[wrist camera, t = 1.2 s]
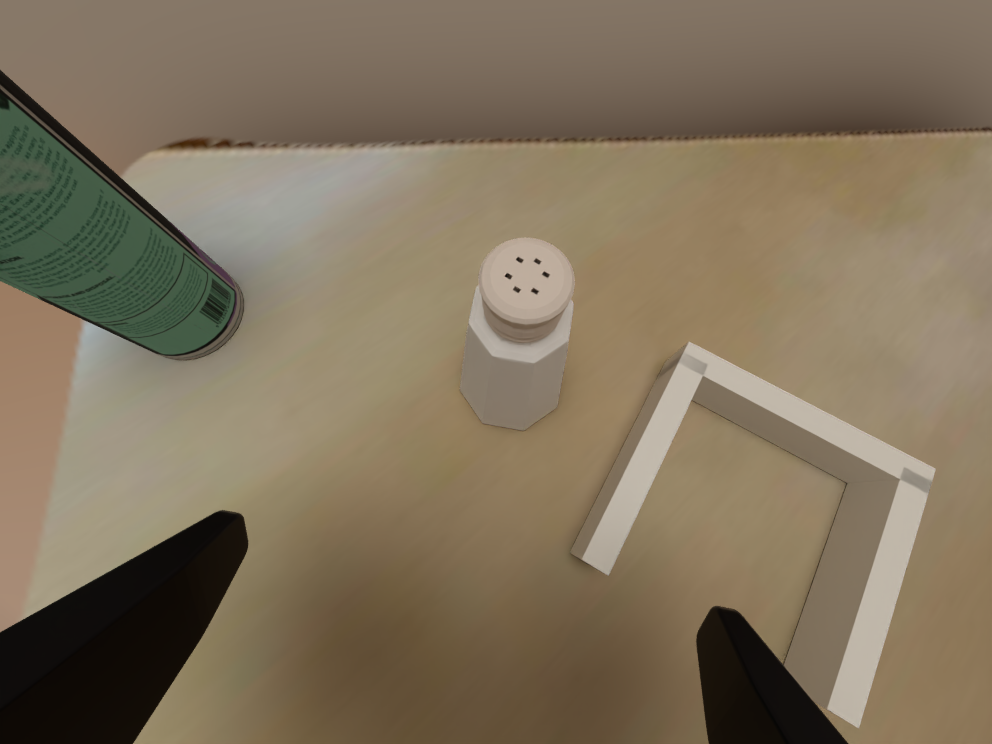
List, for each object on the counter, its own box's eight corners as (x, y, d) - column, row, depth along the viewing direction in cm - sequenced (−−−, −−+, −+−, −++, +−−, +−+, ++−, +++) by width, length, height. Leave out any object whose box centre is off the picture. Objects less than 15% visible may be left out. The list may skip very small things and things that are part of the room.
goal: (805, 696, 20) (858, 728, 17) (569, 552, 21) (581, 559, 18) (878, 474, 22) (935, 468, 19) (665, 361, 24) (688, 341, 21)
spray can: (228, 252, 26) (-555, -514, 6) (256, 335, 24) (-643, -332, 5) (130, 289, 25) (-1082, -449, 6) (152, 377, 23) (-1354, -213, 4)
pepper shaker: (528, 453, 22) (560, 403, 12) (438, 395, 23) (393, 300, 13) (583, 365, 24) (655, 251, 13) (495, 313, 25) (498, 166, 14)
